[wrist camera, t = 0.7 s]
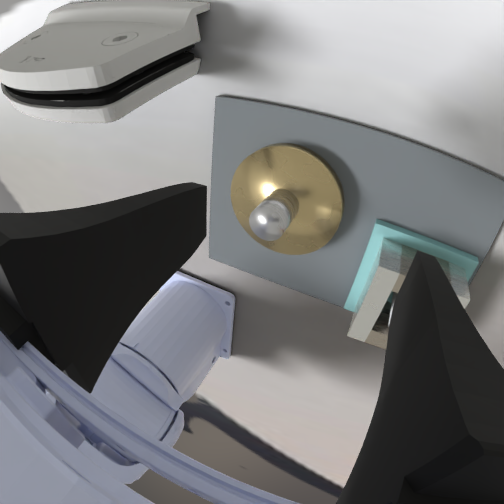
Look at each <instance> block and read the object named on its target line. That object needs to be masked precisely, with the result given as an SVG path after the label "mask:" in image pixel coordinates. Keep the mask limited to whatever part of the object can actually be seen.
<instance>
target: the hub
mask: <svg viewBox="0 0 504 504" xmlns="http://www.w3.org/2000/svg"><path fill="white" fill-rule="evenodd" d="M231 203H232V207H233V210H234V213H235V215H236V217H237V219H238V221H239V223H240V224H241V226H242V227H243V229H244V230H245V231H246V232H247V233H248V234H249V235H250V236H251V237H252V238H253V239H254V240H255V241H257V242H258V243H259V244H261V245H262V246H264V247H266V248H268V249H270V250H273V251H275V252H278V253H282V254H288V255H302V254H308V253H311V252H314V251H316V250H318V249H320V248H322V247H323V246H324V245H326V244H327V243H328V242H329V241H330V240H331V239H332V237H333V236H334V235H335V233H336V231H337V229H338V227H339V224H340V222H341V219H342V217H343V213H344V205H345V200H344V192H343V188H342V185H341V182H340V180H339V178H338V176H337V174H336V172H335V171H334V170H333V168H332V167H331V166H330V165H329V163H328V162H327V161H326V160H325V159H323V158H322V157H321V156H320V155H318V154H317V153H315V152H314V151H312V150H310V149H308V148H306V147H303V146H300V145H296V144H291V143H276V144H271V145H268V146H265V147H263V148H261V149H259V150H257V151H256V152H254V153H252V154H251V155H249V156H248V157H247V158H246V159H244V160H243V161H242V163H241V164H240V165H239V166H238V168H237V169H236V171H235V174H234V176H233V179H232V183H231Z"/></svg>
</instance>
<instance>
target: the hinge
mask: <svg viewBox="0 0 504 504" xmlns="http://www.w3.org/2000/svg"><path fill="white" fill-rule="evenodd" d="M208 10H210V3H209V2H199V1H186V0H104V1H92V2H82V3H74V4H66V5H63V6H61V7H59V8H57V9H55V10H53V11H51V12H50V13H49V14H48V17H47V19H46V21H45V23H44V25H43V26H42V27H41V28H39V29H37V30H36V31H34V32H32V33H31V34H29V35H28V36H26V37H24V38H23V39H21V40H20V41H18V42H17V43H15V44H14V45H12V46H11V47H9V48H8V49H6V50H5V51H3V52H2V53H1V54H0V82H1V88H2V91H3V93H4V94H5V96H6V97H7V99H8V100H9V101H10V103H11V104H12V105H13V106H14V107H15V108H16V109H17V110H18V111H20V112H22V113H24V114H26V115H28V116H31V117H34V118H38V119H42V120H48V121H55V122H65V123H110V122H113V121H116V120H119V119H121V118H122V117H124V116H125V115H127V114H128V113H130V112H131V111H133V110H135V109H136V108H138V107H139V106H141V105H143V104H144V103H146V102H148V101H149V100H151V99H153V98H154V97H156V96H158V95H160V94H161V93H163V92H165V91H167V90H168V89H170V88H172V87H174V86H176V85H177V84H179V83H181V82H183V81H185V80H187V79H189V78H191V77H193V76H194V75H196V74H197V72H198V70H199V66H200V62H201V59H199V58H195V57H194V54H192V53H187V52H185V51H187V50H189V49H192V48H194V43H197V42H199V41H201V39H200V33H199V28H198V22H197V16H196V15H197V14H200V13H203V12H205V11H208Z"/></svg>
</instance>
